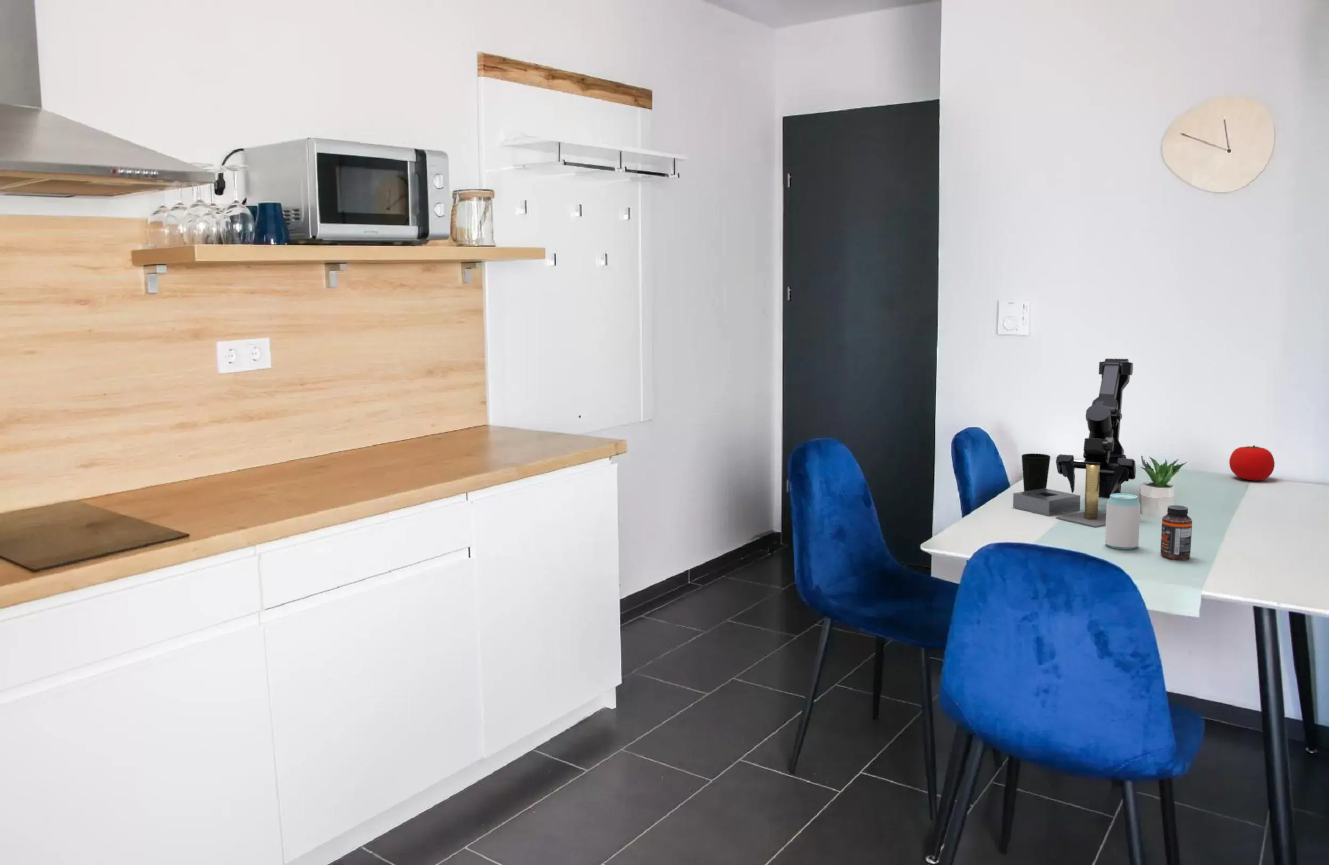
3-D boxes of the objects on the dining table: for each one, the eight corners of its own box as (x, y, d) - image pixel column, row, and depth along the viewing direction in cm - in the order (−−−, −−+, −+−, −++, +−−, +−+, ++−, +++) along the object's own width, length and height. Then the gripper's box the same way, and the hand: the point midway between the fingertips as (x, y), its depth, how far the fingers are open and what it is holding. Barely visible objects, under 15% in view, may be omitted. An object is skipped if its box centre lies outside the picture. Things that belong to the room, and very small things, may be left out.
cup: (1051, 500, 280) (1052, 458, 278) (1022, 499, 282) (1023, 457, 280) (1046, 494, 287) (1047, 453, 286) (1018, 494, 289) (1019, 453, 287)
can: (1141, 550, 226) (1144, 499, 224) (1108, 549, 227) (1110, 498, 226) (1134, 543, 233) (1136, 492, 231) (1101, 542, 234) (1103, 492, 233)
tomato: (1282, 483, 296) (1284, 448, 294) (1242, 483, 296) (1244, 449, 294) (1258, 475, 307) (1260, 442, 306) (1220, 476, 308) (1222, 442, 306)
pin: (1089, 516, 258) (1091, 463, 256) (1100, 518, 255) (1102, 465, 253) (1081, 518, 257) (1083, 464, 254) (1092, 520, 254) (1094, 466, 252)
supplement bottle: (1154, 553, 223) (1156, 504, 222) (1179, 552, 224) (1182, 503, 222) (1170, 560, 217) (1172, 510, 216) (1196, 559, 218) (1198, 509, 216)
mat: (1091, 511, 265) (1091, 510, 265) (1131, 520, 254) (1132, 518, 254) (1055, 518, 258) (1055, 516, 258) (1095, 527, 248) (1095, 526, 248)
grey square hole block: (1043, 502, 278) (1044, 488, 277) (1079, 510, 267) (1080, 495, 266) (1013, 507, 272) (1013, 493, 271) (1048, 515, 261) (1049, 500, 261)
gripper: (1058, 423, 261) (1048, 472, 253) (1136, 427, 251) (1129, 478, 243) (1062, 449, 268) (1053, 496, 261) (1139, 453, 259) (1131, 503, 251)
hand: (1091, 493), depth 254 cm, fingers open, 9 cm apart
